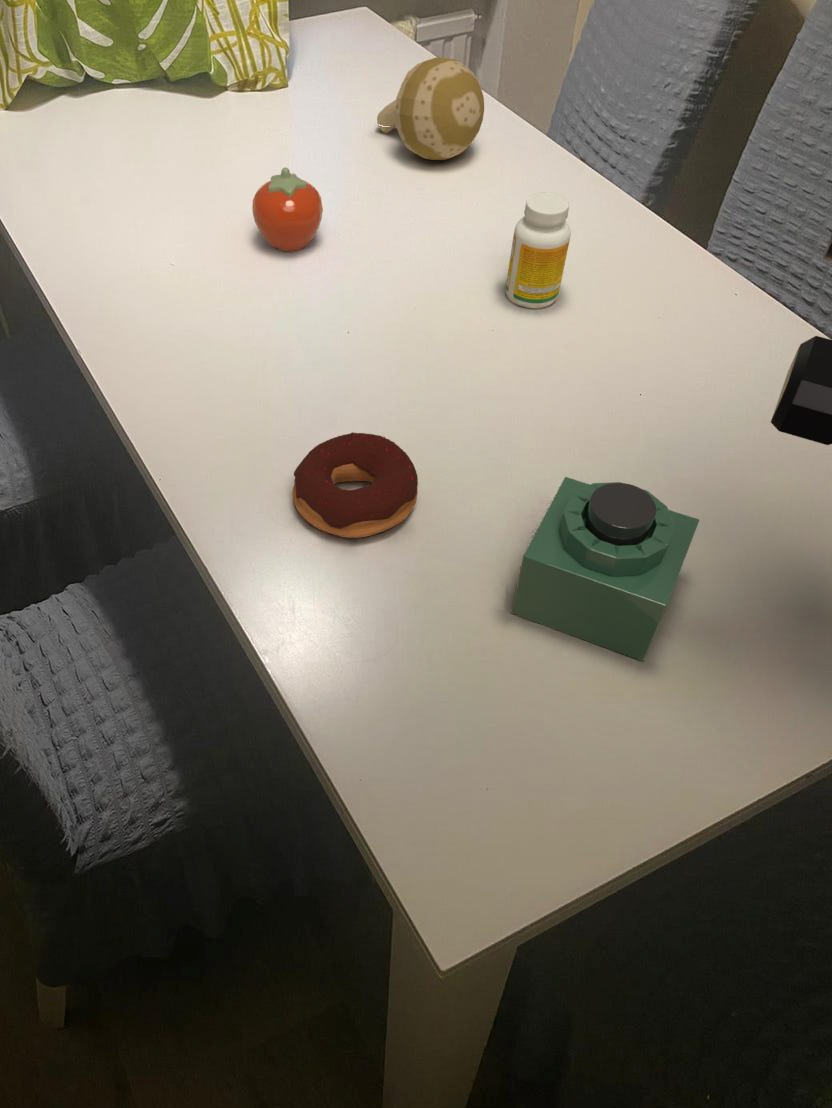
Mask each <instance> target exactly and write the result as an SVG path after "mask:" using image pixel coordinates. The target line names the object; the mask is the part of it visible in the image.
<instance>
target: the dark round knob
mask: <svg viewBox="0 0 832 1108" xmlns="http://www.w3.org/2000/svg"><path fill="white" fill-rule="evenodd" d="M608 483H609V482H608ZM642 489H643V488H641V487H638V486H637V485H634V484H631V483H626V482H622V483H621V482H620V483H609V484H605V485H603V486H601V487H599V488H597V489H596V490H595V491H594V492H593V494H592V495H591V498H590V502H589V505H588V509H587V513H586V517H585V522H586V526H587V528H588V530H589V531H590V532H591V533H592V534H593V535H594V536H595V537H597V538H598V539H599V540H602V541H605V542H608V543H611V544H614V545H617V546H624V545H635V544H638V543H640V542H642V541H643V540H644V539H645V538H646V537H647V536H648V534H649V532H650V529H651V526H652V524H653V521H654V518H655V515H656V504H655V502H654V500H653V498H652V497H651V496H650V495H649V494H648V493H647V492H645V491H644V490H645V489H644V490H642Z"/></svg>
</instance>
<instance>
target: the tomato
mask: <svg viewBox="0 0 832 1108" xmlns="http://www.w3.org/2000/svg"><path fill="white" fill-rule="evenodd" d="M251 206H252V208H251V209H252V216H253V220H254V223H255V225H256V229H258V232H259V234H261V236H262V238H263V239H264V240H265V241H266V243H267V244H269V245H270V246H271V247H273V248H274V249H276V250H279V251H281V252H286V253H295V252H298V251H301V250H303V249H304V248H306V247H307V245H309V244H310V243H311V241H312V240H313V238H314V237H315V236H316V234H317V232H318V230H319V228H320V225H321V223H322V218H323V213H324V212H323V211H324V208H323V202H322V196H321V195H320V192H319V191H318V190H317V189H316V188H315V186H313V185H312V184H311V183H309V182H308V181H306V180H303V179H302V178H300V177H299V176H298V175H297V174H296V173H292V172H291V171H290V169H289V168H288V167H283V168H282V169H281V171H280V174H275V175H271V177H270V180H269V181H267V182H265V183H263V184H262V185H261V186H260V187H259V188H258V189H257V190H256V192H255V194H254V196H253V199H252V205H251Z"/></svg>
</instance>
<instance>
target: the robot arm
mask: <svg viewBox="0 0 832 1108" xmlns="http://www.w3.org/2000/svg"><path fill="white" fill-rule="evenodd" d="M822 260H824V261H829V262H832V234H831V235H830V238H829V241H828V243H827V246H826V249H825V251H824V254H823V257H822ZM777 399H778V400H777V402H776V405H775V408H774V410H773V414H772V417H771V420H770V423H771V424H772V426H774V428H775V429H776V430H777V431H778V432H779V433H780V432H781V433H784V434H787V435H790V436H794V437H797V438H801V439H803V440H808V441H812V442H815V443H818V444H822V445H825V446H830V445H832V339H831V338H827V337H823V336H820V335H815V336H813V337H811V338H809V339H807V340H806V341H804V342H802V343H800V345H799V346H798V348H797V351H796V353H795V355H794V357H793V359H792V361H791V364H790V366H789V368H788V371H787V373H786V377H785V379H784V382H783V384H782V387H781V390H780V394H779V396H778V398H777Z"/></svg>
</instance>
